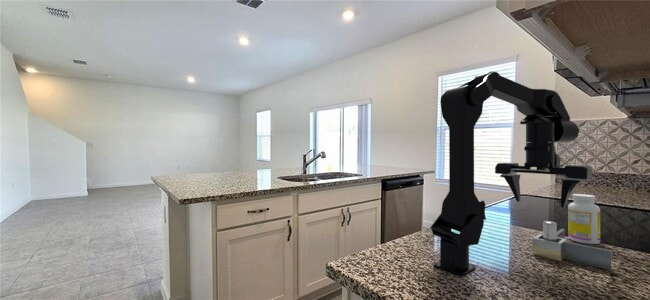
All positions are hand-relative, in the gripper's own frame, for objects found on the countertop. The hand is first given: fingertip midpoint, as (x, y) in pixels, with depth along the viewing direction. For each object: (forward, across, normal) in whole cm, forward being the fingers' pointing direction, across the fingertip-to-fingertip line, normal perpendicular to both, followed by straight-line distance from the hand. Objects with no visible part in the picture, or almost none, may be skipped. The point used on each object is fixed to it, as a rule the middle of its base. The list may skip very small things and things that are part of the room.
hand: (539, 204), depth 71 cm
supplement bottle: (+12, -5, -20) cm, 24 cm away
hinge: (+12, -6, -4) cm, 14 cm away
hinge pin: (+12, -2, +1) cm, 12 cm away
